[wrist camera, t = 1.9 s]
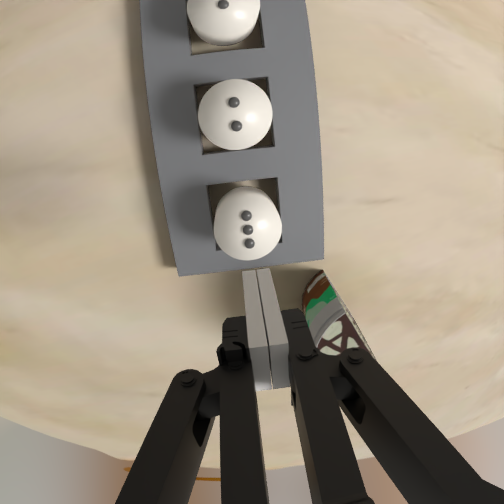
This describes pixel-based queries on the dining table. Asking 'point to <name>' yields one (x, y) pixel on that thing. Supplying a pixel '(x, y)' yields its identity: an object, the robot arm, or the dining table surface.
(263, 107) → the two dot button
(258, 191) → the three dot button
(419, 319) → the dining table surface
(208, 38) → the one dot button
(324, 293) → the food container
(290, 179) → the button board
